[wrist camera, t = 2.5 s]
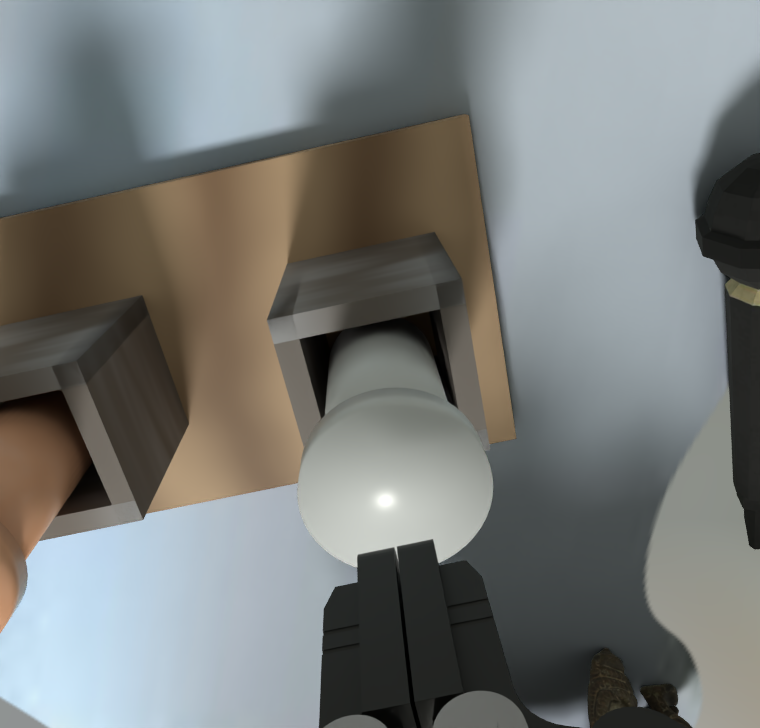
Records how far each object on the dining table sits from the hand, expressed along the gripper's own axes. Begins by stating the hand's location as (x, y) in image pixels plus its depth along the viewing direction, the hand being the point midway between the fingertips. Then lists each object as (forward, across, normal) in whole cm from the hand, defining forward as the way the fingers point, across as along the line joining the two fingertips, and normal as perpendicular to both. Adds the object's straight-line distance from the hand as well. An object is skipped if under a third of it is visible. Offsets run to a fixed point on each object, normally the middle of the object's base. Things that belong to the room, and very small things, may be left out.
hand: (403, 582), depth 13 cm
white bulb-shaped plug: (+11, 0, 0) cm, 11 cm away
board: (+17, +6, 0) cm, 18 cm away
